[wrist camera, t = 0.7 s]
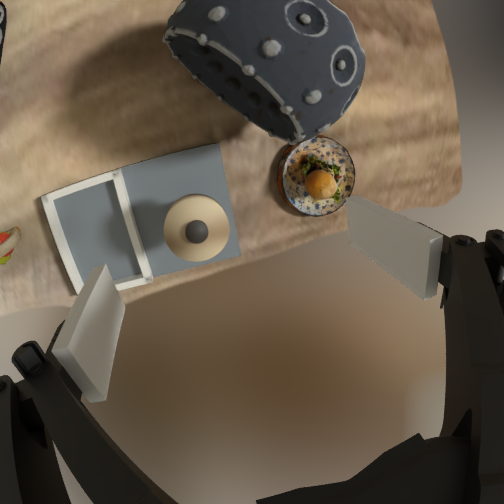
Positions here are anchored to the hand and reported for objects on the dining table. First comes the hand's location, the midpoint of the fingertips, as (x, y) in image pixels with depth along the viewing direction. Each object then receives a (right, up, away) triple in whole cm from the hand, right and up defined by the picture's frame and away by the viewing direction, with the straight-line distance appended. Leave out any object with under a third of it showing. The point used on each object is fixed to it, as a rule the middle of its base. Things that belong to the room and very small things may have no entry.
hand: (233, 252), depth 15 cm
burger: (+10, +11, +27) cm, 31 cm away
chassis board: (-15, +4, +23) cm, 28 cm away
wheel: (-5, +3, +18) cm, 19 cm away
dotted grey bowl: (0, +24, +19) cm, 30 cm away
